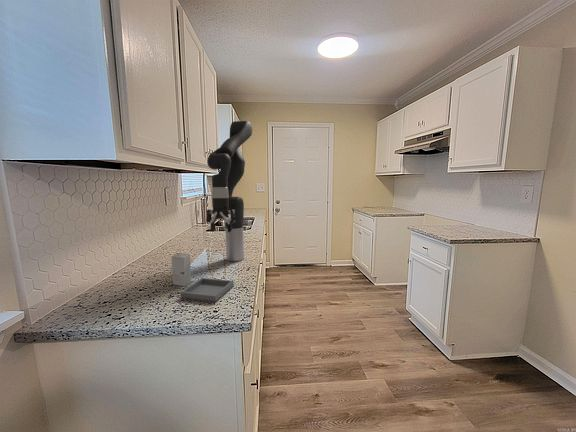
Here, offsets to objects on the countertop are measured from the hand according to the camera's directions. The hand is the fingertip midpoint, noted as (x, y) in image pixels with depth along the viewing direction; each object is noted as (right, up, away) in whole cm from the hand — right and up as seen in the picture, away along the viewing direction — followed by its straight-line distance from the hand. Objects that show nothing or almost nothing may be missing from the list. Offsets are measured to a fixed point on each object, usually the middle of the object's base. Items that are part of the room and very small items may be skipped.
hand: (221, 231), depth 123 cm
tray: (+1, -22, -24) cm, 32 cm away
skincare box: (-12, -21, -16) cm, 29 cm away
